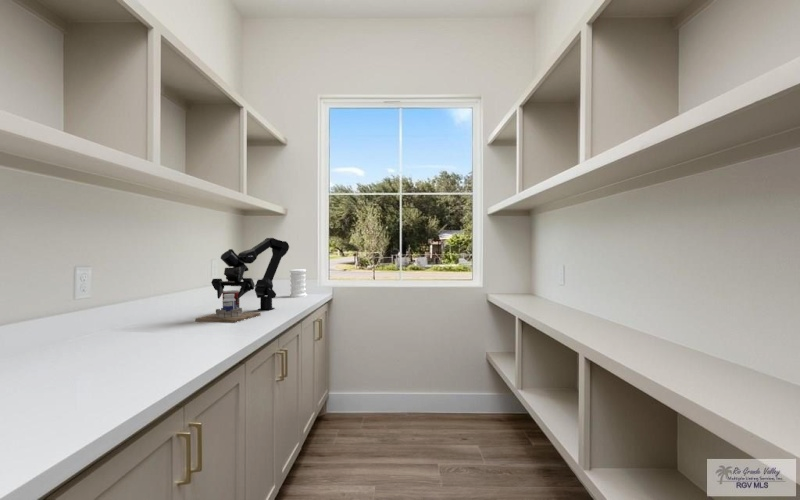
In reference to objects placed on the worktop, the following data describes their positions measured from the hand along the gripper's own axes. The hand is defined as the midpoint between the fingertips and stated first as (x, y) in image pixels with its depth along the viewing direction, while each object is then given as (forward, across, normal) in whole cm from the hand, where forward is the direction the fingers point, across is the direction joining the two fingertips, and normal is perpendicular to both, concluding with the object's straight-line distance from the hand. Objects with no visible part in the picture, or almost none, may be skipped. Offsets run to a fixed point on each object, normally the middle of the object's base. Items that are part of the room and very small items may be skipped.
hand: (228, 298), depth 193 cm
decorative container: (-59, +8, +73) cm, 94 cm away
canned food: (-6, -6, +20) cm, 22 cm away
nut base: (+6, 0, +7) cm, 9 cm away
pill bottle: (+5, 0, +7) cm, 8 cm away
